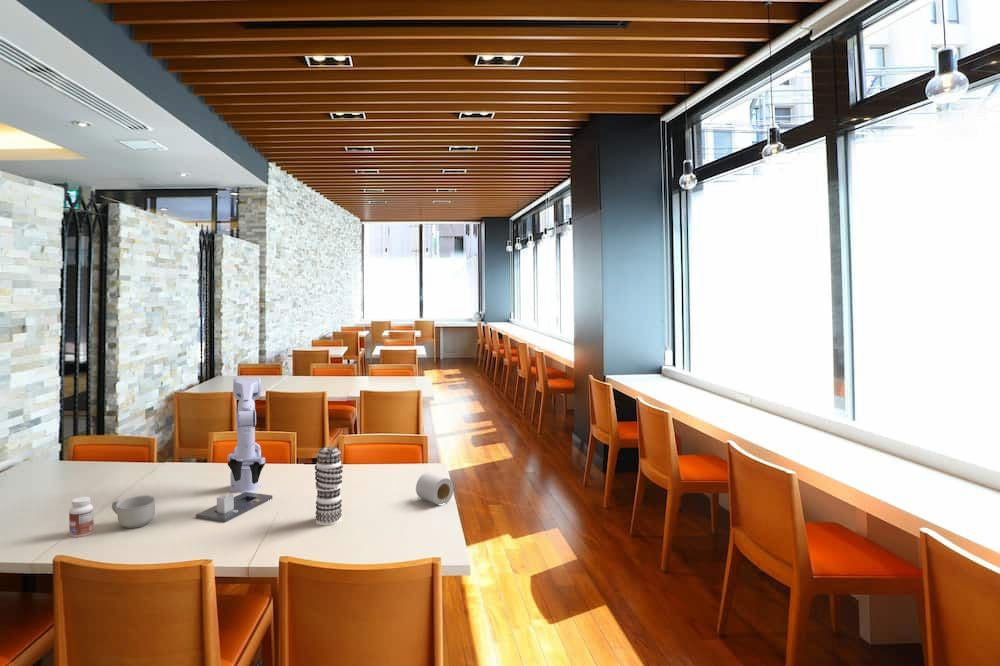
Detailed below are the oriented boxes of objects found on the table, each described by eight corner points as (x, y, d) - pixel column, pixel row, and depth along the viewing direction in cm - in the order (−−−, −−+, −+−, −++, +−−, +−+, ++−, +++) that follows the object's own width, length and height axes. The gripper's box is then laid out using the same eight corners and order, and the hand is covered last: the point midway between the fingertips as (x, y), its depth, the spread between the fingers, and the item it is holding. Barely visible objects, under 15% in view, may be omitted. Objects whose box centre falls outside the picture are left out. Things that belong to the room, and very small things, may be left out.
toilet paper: (453, 501, 216) (453, 475, 215) (433, 508, 208) (433, 481, 208) (436, 495, 222) (436, 469, 222) (415, 501, 215) (416, 475, 215)
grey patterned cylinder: (327, 528, 188) (327, 453, 187) (308, 521, 193) (308, 449, 192) (348, 519, 196) (348, 447, 195) (329, 513, 201) (330, 443, 200)
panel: (196, 518, 194) (195, 513, 194) (245, 495, 217) (245, 491, 217) (225, 523, 191) (225, 518, 191) (272, 499, 214) (272, 494, 214)
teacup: (163, 521, 191) (162, 497, 191) (132, 533, 181) (132, 508, 181) (132, 515, 196) (132, 492, 195) (101, 526, 186) (101, 502, 185)
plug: (216, 514, 197) (216, 494, 197) (226, 510, 201) (226, 490, 201) (224, 515, 196) (224, 495, 196) (233, 511, 200) (233, 491, 200)
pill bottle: (67, 533, 180) (66, 499, 179) (90, 528, 185) (89, 494, 184) (72, 539, 176) (71, 504, 175) (96, 533, 181) (95, 499, 180)
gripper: (221, 444, 201) (221, 482, 202) (255, 448, 197) (255, 487, 198) (235, 440, 208) (235, 476, 209) (269, 444, 203) (269, 481, 204)
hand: (246, 481), depth 204 cm, fingers open, 7 cm apart
